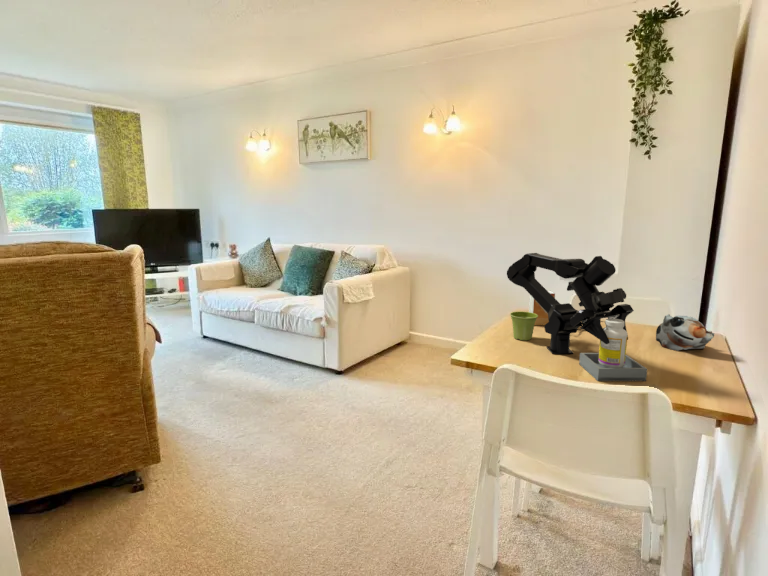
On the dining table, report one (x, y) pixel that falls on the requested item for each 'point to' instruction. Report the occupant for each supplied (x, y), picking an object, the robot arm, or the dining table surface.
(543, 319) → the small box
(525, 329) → the plant pot
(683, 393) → the dining table surface
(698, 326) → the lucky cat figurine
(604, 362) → the supplement bottle
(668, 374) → the dining table surface
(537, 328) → the dining table surface
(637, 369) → the tray
